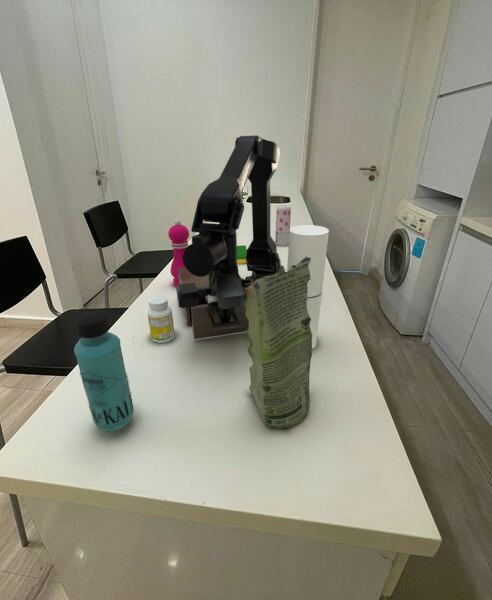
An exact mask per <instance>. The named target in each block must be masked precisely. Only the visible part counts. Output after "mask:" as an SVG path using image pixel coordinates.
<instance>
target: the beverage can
mask: <svg viewBox="0 0 492 600" xmlns="http://www.w3.org/2000/svg"><path fill="white" fill-rule="evenodd" d="M291 216H292V207H291V205H277V207H276V216H275V218H276V220H275V236H274V237H275V239H274V242H275V243H276V246H278V247H279V246H280V247H285V246H289V230H290V228H291V218H292V217H291Z"/></svg>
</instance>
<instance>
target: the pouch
mask: <svg viewBox="0 0 492 600" xmlns="http://www.w3.org/2000/svg"><path fill="white" fill-rule="evenodd" d="M310 261H311V258H310V257H309V258H308V257H307V256H306V257H305V258H303V259H302V260H301V261H300V262H299V263H298V264H297V265H293V266H291V268H290V269H289V271H288V272H287V270H286V269H285V266H284V265H282V264H281V267H280V269H279V271H278V272H277V273H276V274H275V275H274V276H264V277H263V278H260V279H257V280H255V281H254V282H253V283H252V284H251V285H250V286H249V287H247V288H245V292H246V298H245V301H244V305H245V307H246V313H245V315H246V317H247V318H248V320H249V327H248V329H247V331H246V334H247V336H248V338H249V340H250V344H249V346H248V348H247V353H248V355H249V357H250V358H251V360H252V361H251V362H252V364H251V365H250V366H249V375H250V378H249V379H250V385H249V387H248V389H249V391H250V393H251V395H252V397H253V400H254V402H255V404H256V408H257V409H258V411H259V412H260V416H261V418H262V421H263V423H264V424H265V426H266V427H267V428H277V429H283V428H287V427H290V426H295V425H296V424H298V423H300V422H301V421H302V420H304V417H306V416H307V414H308V412H309V410H310V401H311V399H310V374H311V373H310V372H311V362H312V361H311V360H312V357H313V349H312V333H311V329H310V321H311V318H310V316H309V314H308V311H307V294H308V292H307V291H308V287H307V284H308V281H309V280H310V271H309V267H308V266H309V263H310Z"/></svg>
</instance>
